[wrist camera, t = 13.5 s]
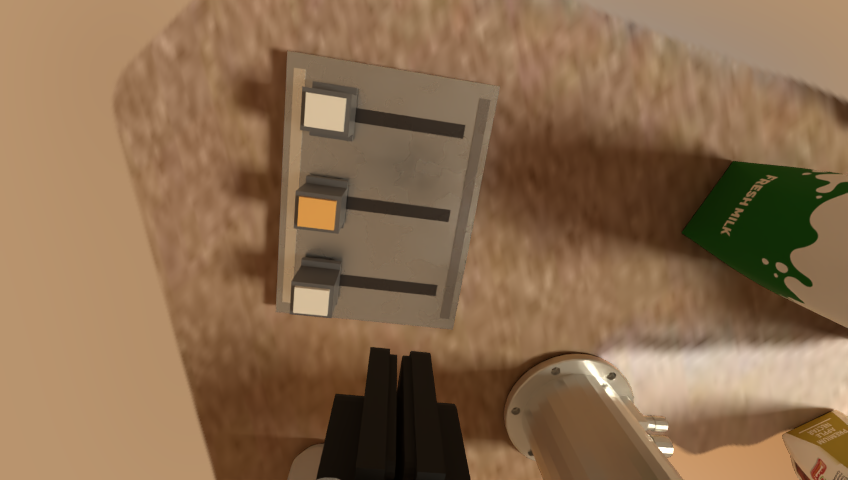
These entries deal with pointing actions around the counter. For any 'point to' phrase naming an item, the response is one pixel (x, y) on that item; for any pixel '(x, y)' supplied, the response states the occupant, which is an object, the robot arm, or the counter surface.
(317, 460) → the energy drink can
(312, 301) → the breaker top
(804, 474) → the juice carton
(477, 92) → the panel
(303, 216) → the block
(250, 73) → the counter surface
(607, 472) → the robot arm
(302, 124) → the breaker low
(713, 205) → the milk carton
